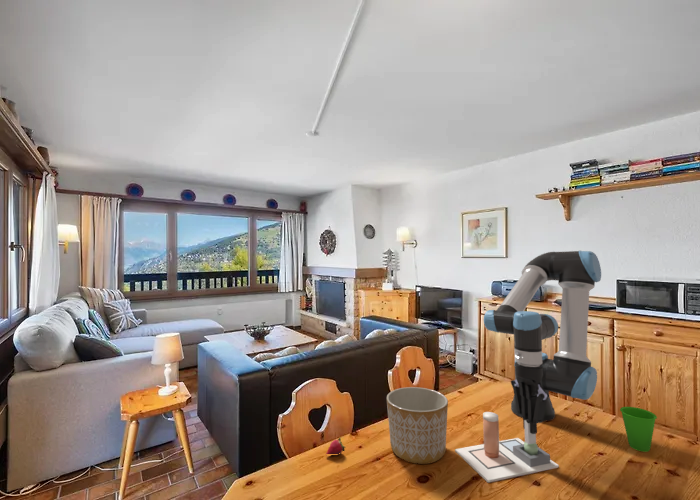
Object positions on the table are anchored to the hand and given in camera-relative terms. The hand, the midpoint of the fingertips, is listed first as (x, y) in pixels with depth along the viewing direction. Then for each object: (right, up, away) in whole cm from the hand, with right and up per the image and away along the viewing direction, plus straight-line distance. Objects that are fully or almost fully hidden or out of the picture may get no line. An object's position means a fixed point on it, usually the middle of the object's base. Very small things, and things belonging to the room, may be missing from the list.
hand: (530, 442), depth 103 cm
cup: (+38, -5, +6) cm, 39 cm away
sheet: (-7, -6, +1) cm, 9 cm away
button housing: (0, -5, 0) cm, 5 cm away
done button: (0, -3, 0) cm, 3 cm away
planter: (-33, -6, +7) cm, 34 cm away
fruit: (-59, -7, +4) cm, 60 cm away
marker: (-11, -5, +2) cm, 12 cm away
